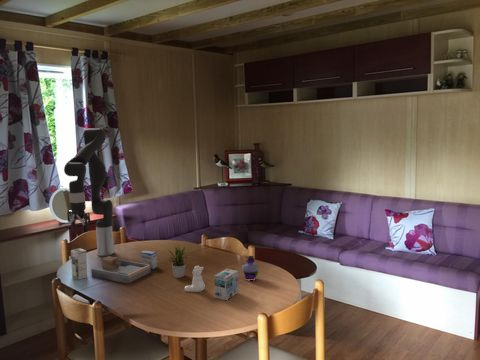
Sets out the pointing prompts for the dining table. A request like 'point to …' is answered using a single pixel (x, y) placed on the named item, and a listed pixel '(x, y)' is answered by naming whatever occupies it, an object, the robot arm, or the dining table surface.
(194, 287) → the white creature statuette
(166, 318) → the dining table surface
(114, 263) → the walnut block
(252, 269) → the potion bottle
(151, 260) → the medicine box
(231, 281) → the light bulb box
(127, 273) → the grey tray
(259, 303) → the dining table surface
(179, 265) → the house plant
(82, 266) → the syrup box
